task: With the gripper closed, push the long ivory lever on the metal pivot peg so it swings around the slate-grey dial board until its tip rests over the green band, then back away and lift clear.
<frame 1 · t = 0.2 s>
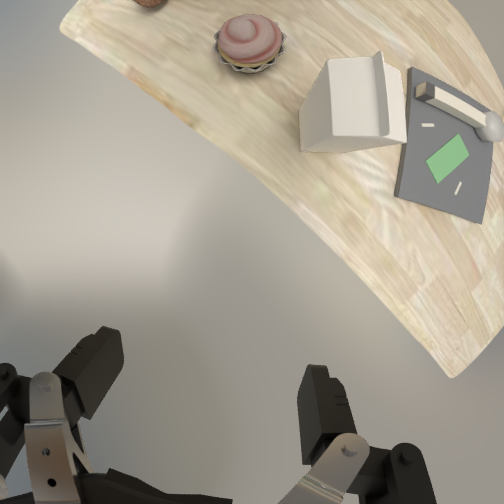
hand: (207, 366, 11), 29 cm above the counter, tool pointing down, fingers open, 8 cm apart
cupcake: (251, 55, 31), on the counter
tuning lever: (465, 111, 27), point 4 cm above the counter, hinge at 0.0°
milk: (320, 131, 34), on the counter
dial board: (450, 148, 33), on the counter
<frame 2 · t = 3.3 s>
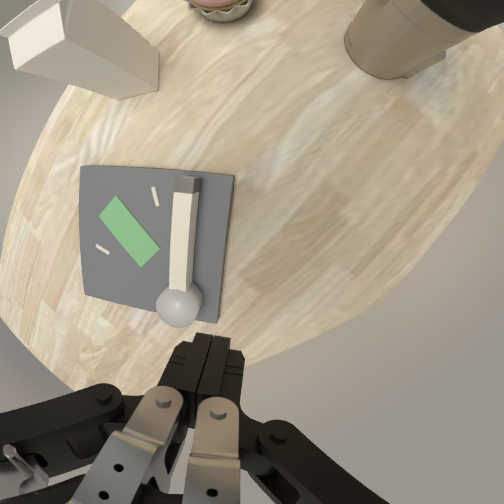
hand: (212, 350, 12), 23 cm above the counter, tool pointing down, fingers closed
cupcake: (226, 7, 24), on the counter
tuning lever: (181, 254, 31), point 4 cm above the counter, hinge at 0.0°
milk: (138, 76, 28), on the counter
dial board: (147, 241, 34), on the counter
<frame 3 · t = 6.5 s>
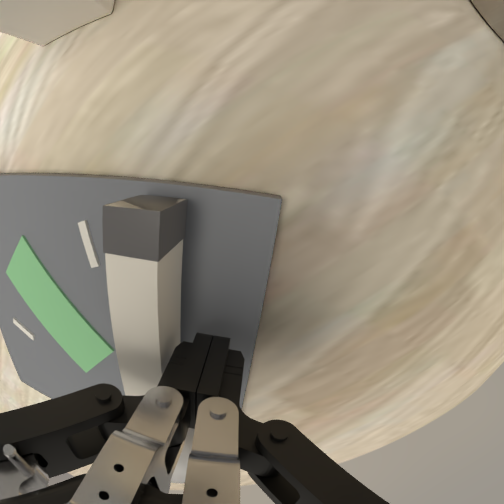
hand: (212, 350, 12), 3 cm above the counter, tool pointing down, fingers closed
tuning lever: (153, 385, 12), point 4 cm above the counter, hinge at 1.2°, touching gripper
milk: (83, 0, 9), on the counter
dial board: (91, 324, 15), on the counter
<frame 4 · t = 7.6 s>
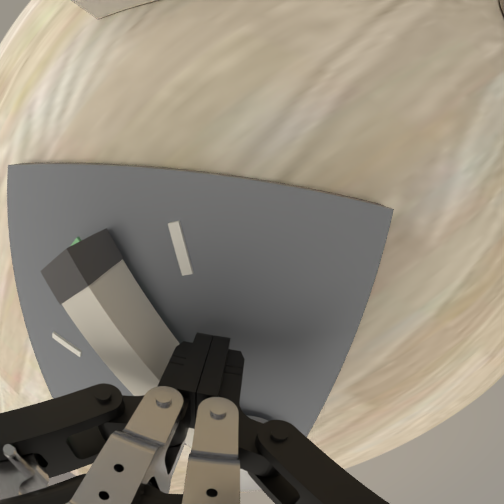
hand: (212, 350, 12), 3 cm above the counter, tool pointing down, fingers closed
tuning lever: (181, 400, 12), point 4 cm above the counter, hinge at 36.3°, touching gripper
dial board: (158, 335, 15), on the counter
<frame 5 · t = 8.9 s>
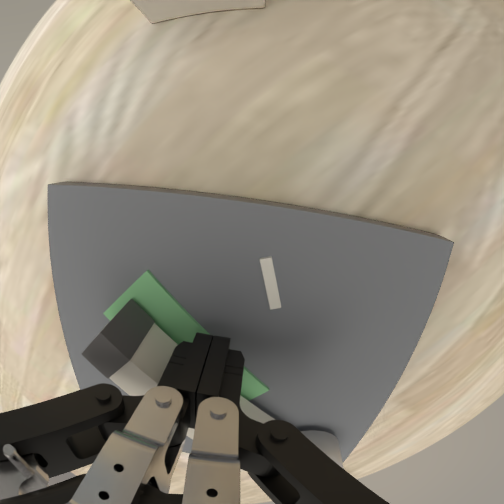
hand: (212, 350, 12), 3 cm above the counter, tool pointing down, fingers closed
tuning lever: (238, 433, 12), point 4 cm above the counter, hinge at 49.9°, touching gripper
dial board: (226, 363, 15), on the counter
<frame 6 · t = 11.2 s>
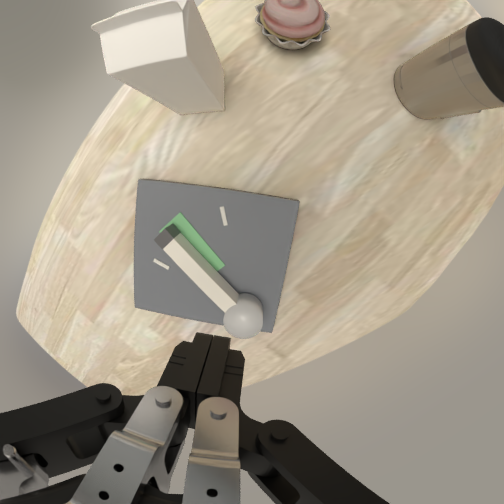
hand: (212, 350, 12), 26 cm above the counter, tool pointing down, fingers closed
cupcake: (289, 33, 28), on the counter
tuning lever: (210, 282, 35), point 4 cm above the counter, hinge at 50.2°
milk: (202, 92, 31), on the counter
dial board: (208, 256, 37), on the counter
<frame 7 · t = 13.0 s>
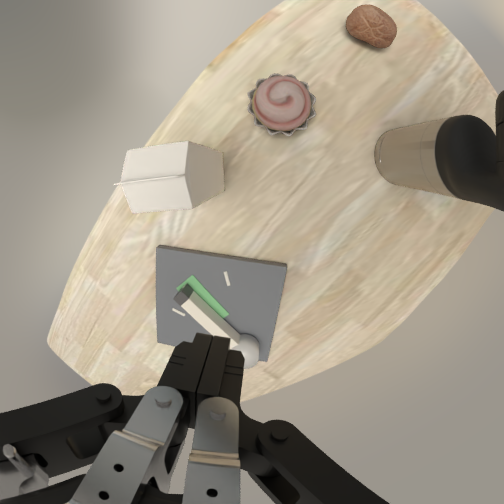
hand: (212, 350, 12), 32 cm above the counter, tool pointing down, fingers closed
mushroom: (363, 38, 32), on the counter
cupcake: (280, 111, 37), on the counter
tuning lever: (218, 328, 44), point 4 cm above the counter, hinge at 50.2°
milk: (204, 172, 41), on the counter
dial board: (215, 306, 47), on the counter
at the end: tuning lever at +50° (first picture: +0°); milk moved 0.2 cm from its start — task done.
